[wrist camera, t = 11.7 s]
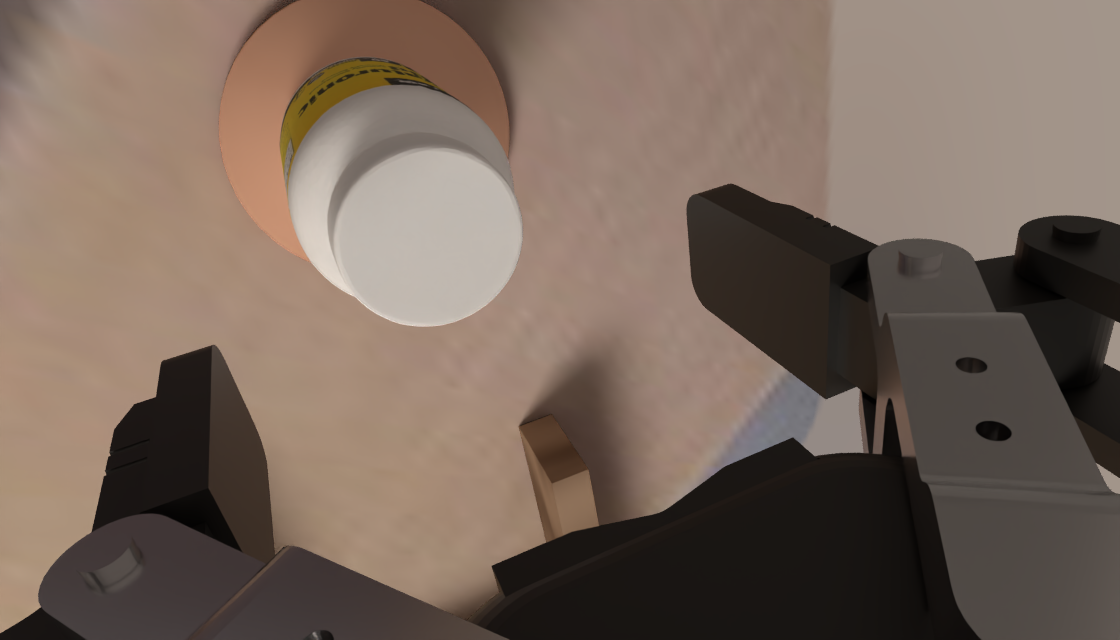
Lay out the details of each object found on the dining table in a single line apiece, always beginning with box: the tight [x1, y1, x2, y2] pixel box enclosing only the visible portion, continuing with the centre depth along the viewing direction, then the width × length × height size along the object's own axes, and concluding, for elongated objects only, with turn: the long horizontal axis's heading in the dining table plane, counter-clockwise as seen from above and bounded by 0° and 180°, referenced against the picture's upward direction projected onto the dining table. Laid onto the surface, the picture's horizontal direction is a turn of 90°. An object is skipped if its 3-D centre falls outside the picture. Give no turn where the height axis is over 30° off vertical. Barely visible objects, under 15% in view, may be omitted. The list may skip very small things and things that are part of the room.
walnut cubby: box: [519, 414, 599, 543], centre depth 31 cm, size 12×16×4 cm
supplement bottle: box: [280, 57, 523, 327], centre depth 19 cm, size 5×5×10 cm
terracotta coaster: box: [219, 0, 510, 262], centre depth 24 cm, size 9×9×1 cm
